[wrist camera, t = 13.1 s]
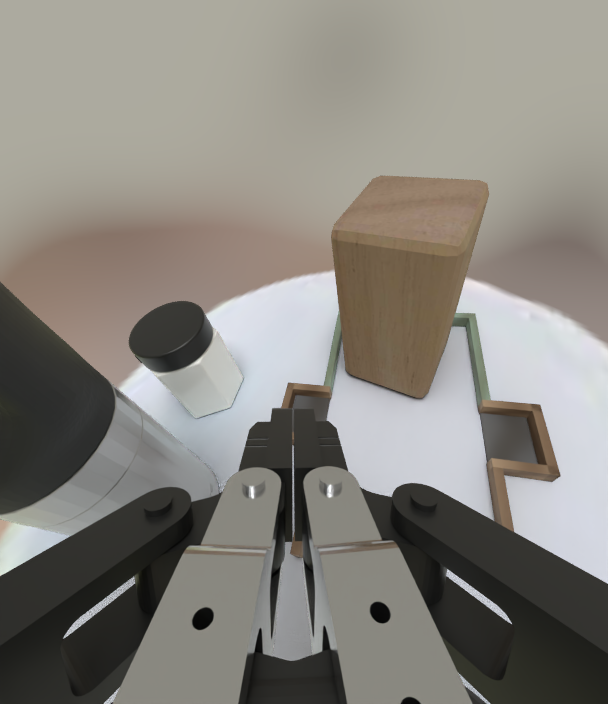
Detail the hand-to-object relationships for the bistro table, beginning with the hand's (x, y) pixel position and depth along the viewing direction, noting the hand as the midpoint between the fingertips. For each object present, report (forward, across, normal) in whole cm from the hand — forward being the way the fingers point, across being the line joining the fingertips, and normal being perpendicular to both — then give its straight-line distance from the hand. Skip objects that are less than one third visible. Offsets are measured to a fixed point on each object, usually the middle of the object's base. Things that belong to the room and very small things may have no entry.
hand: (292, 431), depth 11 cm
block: (+27, -13, +5) cm, 31 cm away
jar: (+29, +11, +10) cm, 32 cm away
